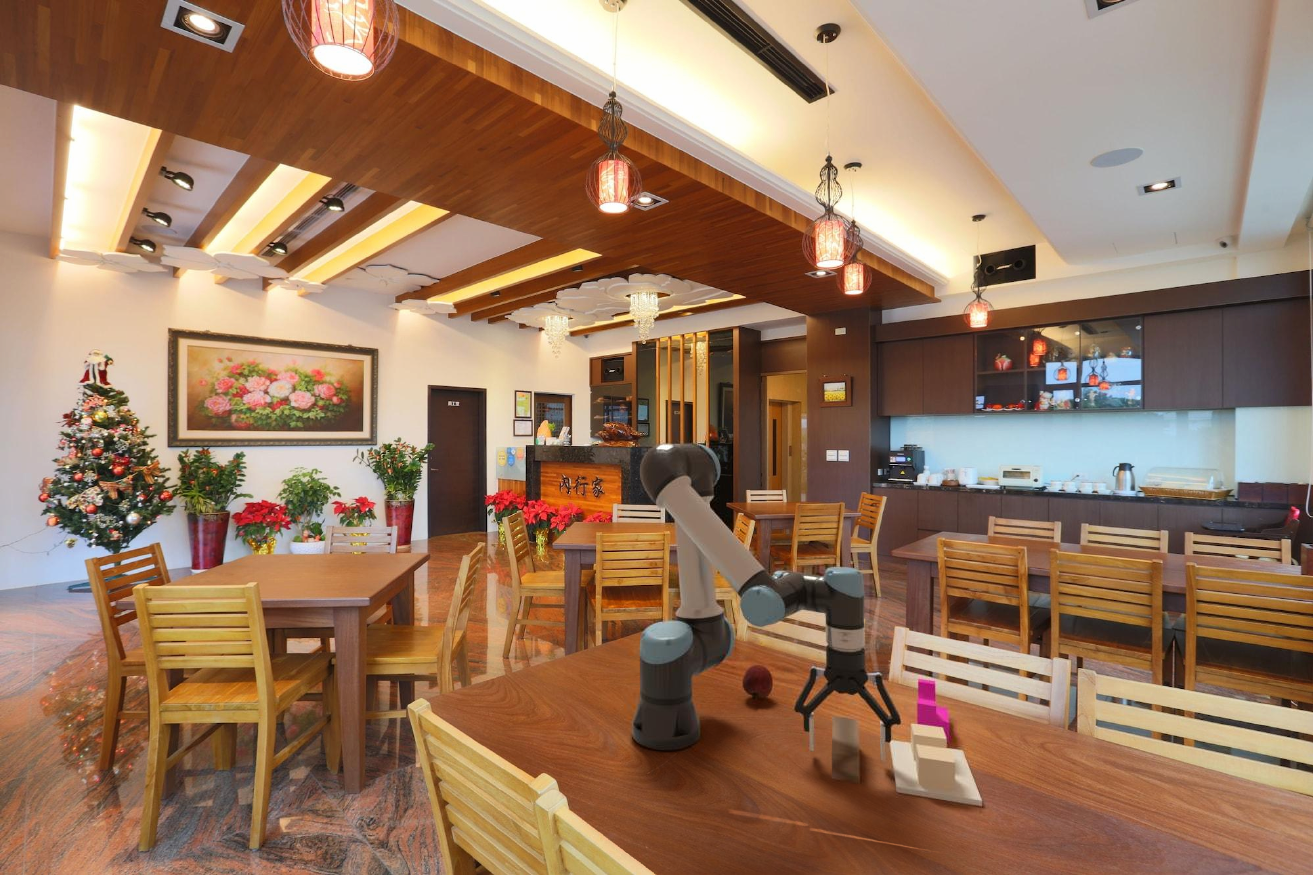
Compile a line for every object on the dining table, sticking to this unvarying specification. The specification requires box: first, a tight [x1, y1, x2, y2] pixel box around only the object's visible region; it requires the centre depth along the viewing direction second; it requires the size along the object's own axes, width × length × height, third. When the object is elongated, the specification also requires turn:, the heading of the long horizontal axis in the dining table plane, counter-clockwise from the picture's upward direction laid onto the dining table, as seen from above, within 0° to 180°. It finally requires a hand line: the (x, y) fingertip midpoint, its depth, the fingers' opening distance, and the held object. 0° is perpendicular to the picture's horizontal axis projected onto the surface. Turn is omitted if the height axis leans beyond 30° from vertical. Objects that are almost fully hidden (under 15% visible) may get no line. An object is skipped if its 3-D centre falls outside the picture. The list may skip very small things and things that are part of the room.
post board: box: [889, 723, 983, 807], centre depth 115 cm, size 14×18×6 cm
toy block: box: [916, 678, 950, 743], centre depth 135 cm, size 15×6×8 cm, turn 155°
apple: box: [742, 664, 774, 699], centre depth 149 cm, size 7×8×8 cm
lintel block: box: [831, 715, 860, 784], centre depth 119 cm, size 5×14×6 cm, turn 162°
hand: (846, 752), depth 119 cm, fingers open, 13 cm apart
